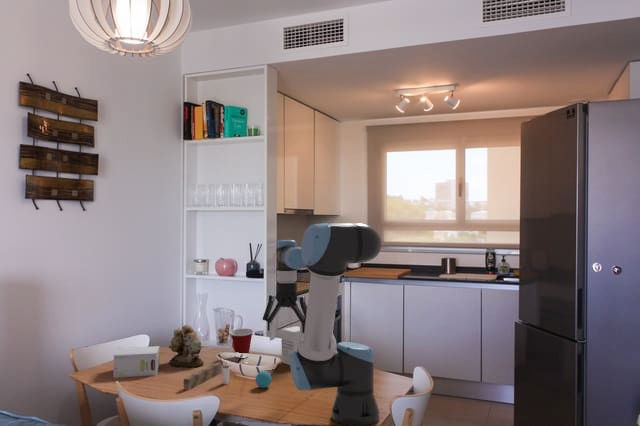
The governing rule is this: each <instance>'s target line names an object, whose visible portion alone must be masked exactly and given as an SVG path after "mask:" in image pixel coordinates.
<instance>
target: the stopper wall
mask: <svg viewBox="0 0 640 426" xmlns="http://www.w3.org/2000/svg"><path fill="white" fill-rule="evenodd" d="M221 373H222V362H216V363H214V364H211V365H209V366H208V367H205V368H203V369H201V370H199V371H197V372H195V373H193V374H191V375H189V376H187V377H185V378H183V390H184V391H189V390H192V389H194V388H195V387H198V386H199V385H202V384H204V383H205V382H207V381H209V380H211V379H212V378H214V377H216V376H218V375H219V374H221Z"/></svg>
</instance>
